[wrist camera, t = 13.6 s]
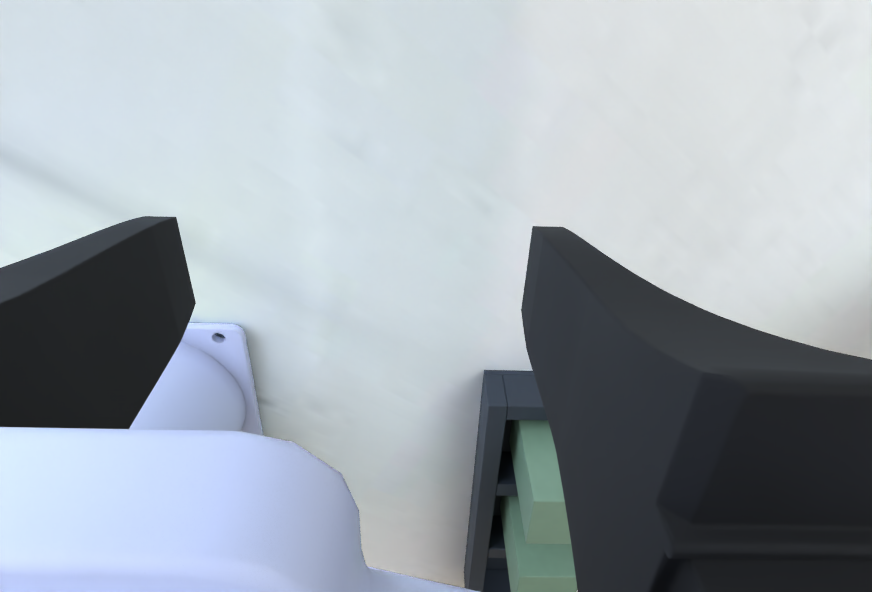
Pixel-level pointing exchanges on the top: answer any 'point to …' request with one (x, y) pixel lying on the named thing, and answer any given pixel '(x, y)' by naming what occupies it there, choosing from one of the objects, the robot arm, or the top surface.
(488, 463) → the organizer
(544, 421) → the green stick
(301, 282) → the top surface
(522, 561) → the middle green stick
